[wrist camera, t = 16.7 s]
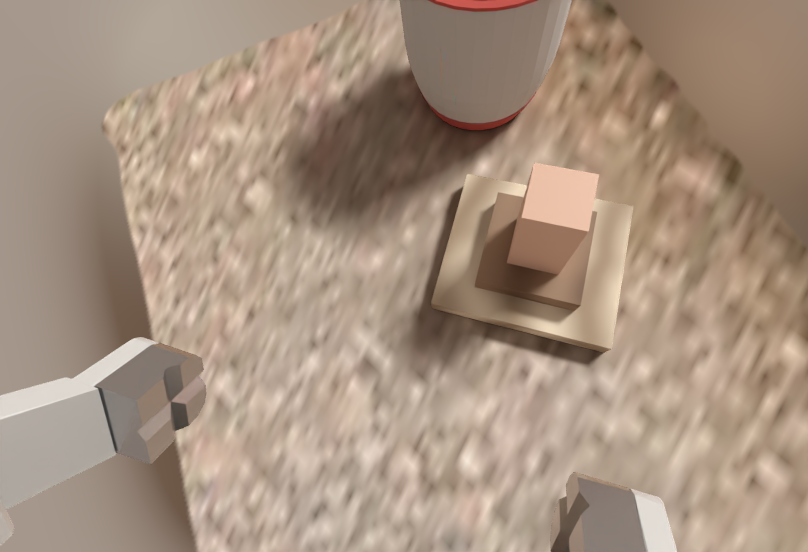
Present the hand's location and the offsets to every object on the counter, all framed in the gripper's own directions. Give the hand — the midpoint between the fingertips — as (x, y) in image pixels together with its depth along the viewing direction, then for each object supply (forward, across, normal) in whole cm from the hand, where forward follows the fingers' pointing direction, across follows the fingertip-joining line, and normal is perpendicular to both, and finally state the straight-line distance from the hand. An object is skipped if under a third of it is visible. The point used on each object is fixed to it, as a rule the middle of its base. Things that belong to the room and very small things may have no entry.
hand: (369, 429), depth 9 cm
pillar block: (+32, -5, +7) cm, 33 cm away
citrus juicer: (+49, +5, -4) cm, 49 cm away
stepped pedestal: (+34, -5, +10) cm, 36 cm away
